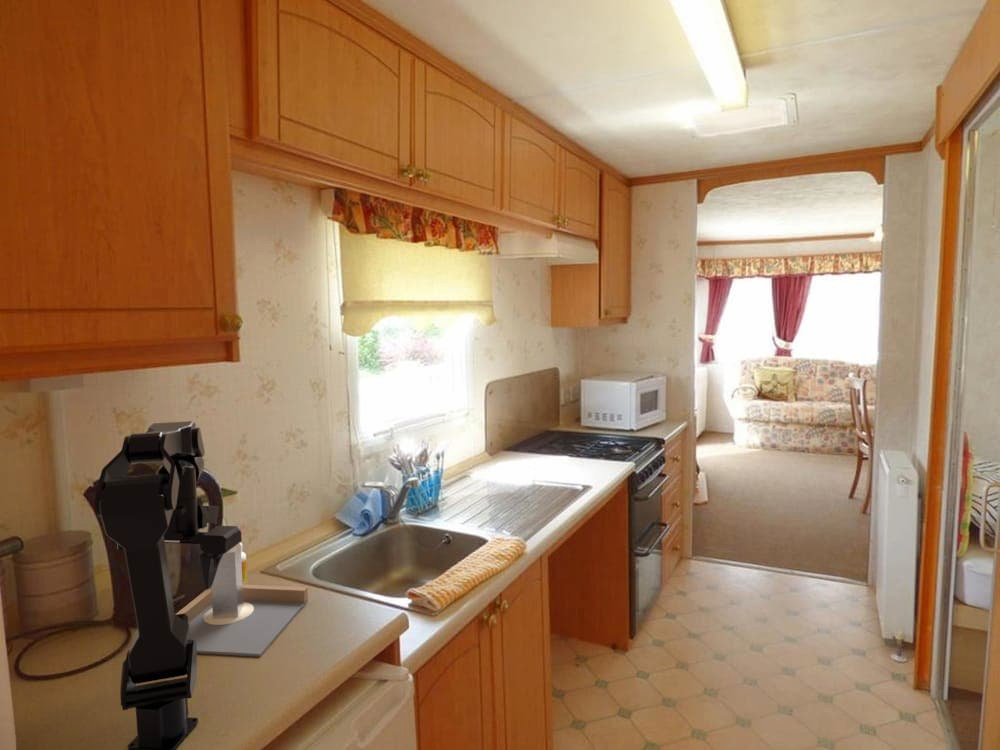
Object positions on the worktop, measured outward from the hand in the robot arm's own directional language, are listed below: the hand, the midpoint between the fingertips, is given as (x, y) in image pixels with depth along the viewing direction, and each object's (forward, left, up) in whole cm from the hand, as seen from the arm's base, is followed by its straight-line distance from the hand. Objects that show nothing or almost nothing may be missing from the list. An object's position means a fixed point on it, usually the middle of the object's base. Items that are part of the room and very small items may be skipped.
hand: (183, 586), depth 103 cm
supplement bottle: (+26, +6, -13) cm, 30 cm away
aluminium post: (+15, +1, -12) cm, 19 cm away
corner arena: (+12, -2, -13) cm, 18 cm away
